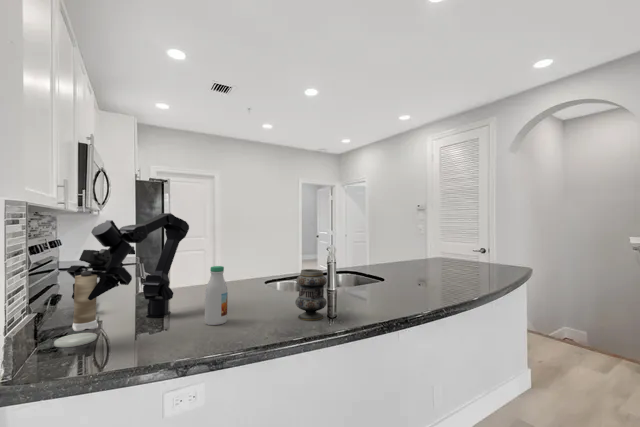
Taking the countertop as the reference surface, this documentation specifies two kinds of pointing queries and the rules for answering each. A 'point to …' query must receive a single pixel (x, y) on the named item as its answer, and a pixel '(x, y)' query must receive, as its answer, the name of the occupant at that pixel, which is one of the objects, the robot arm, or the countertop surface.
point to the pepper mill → (84, 298)
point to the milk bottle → (216, 297)
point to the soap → (85, 326)
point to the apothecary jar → (311, 294)
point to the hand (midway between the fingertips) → (81, 299)
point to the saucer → (75, 340)
